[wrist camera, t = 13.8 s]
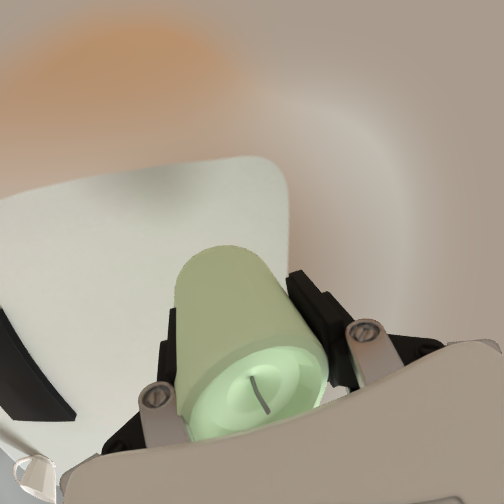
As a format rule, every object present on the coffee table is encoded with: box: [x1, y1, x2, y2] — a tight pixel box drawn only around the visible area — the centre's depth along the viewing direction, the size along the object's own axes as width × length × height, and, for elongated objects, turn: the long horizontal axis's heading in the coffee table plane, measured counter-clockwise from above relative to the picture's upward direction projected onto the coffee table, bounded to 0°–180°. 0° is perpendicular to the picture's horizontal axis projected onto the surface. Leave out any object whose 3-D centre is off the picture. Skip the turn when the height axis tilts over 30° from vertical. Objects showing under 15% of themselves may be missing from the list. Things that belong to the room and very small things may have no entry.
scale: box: [0, 309, 77, 422], centre depth 18 cm, size 15×14×3 cm
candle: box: [174, 245, 329, 441], centre depth 10 cm, size 5×5×8 cm
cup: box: [13, 454, 56, 504], centre depth 22 cm, size 7×10×8 cm
